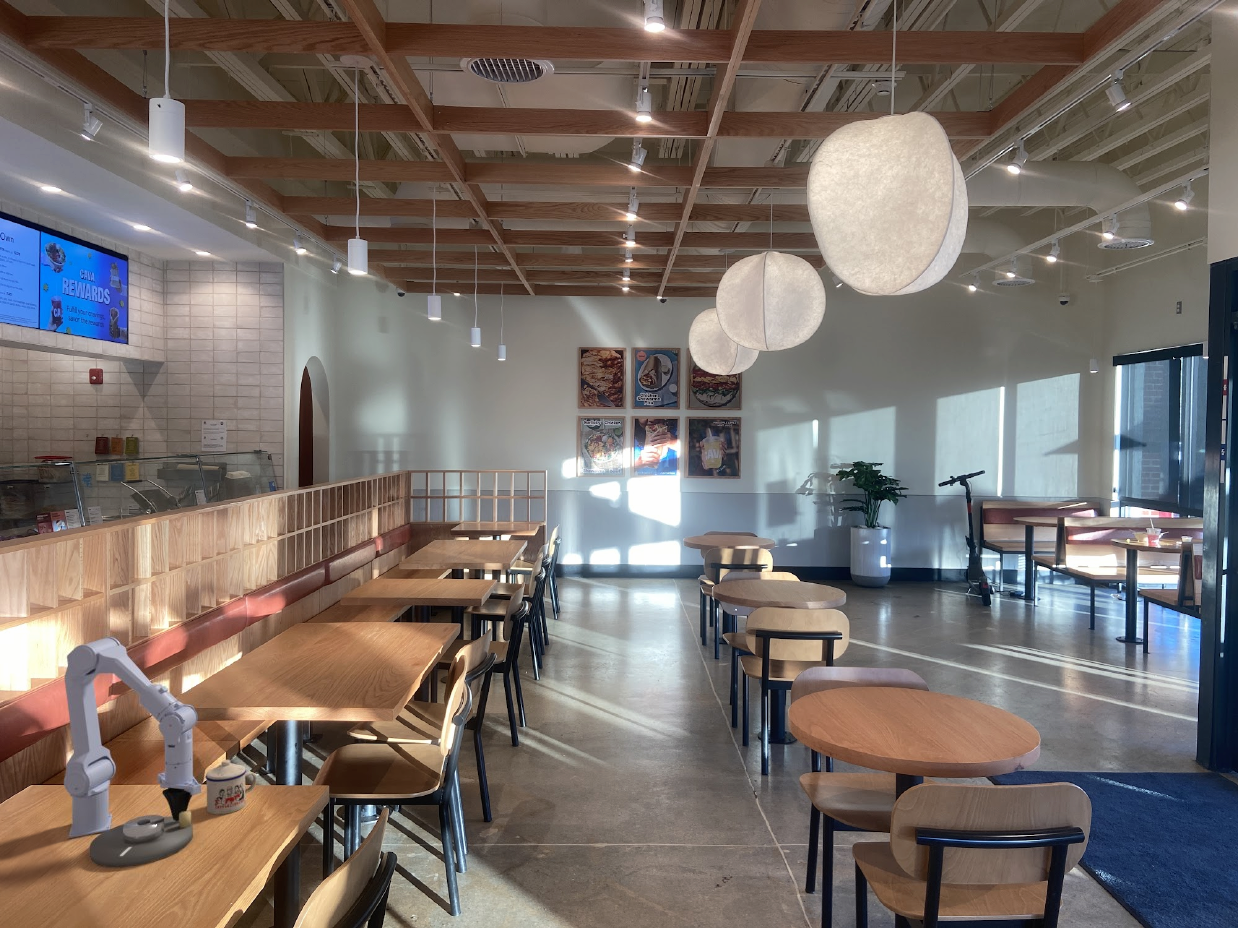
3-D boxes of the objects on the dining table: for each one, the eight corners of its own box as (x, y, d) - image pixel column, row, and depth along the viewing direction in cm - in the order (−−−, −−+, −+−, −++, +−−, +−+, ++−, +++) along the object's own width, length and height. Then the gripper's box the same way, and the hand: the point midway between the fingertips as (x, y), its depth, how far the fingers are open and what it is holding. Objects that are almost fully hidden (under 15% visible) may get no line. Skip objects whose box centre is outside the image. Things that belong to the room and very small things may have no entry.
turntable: (118, 826, 195) (118, 805, 195) (207, 823, 197) (207, 802, 197) (69, 868, 175) (69, 845, 175) (168, 864, 177) (168, 841, 177)
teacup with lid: (213, 818, 200) (213, 770, 200) (200, 807, 206) (200, 760, 206) (264, 804, 208) (263, 757, 208) (249, 793, 215) (249, 748, 215)
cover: (134, 828, 190) (134, 814, 190) (170, 827, 190) (170, 813, 190) (115, 844, 182) (115, 830, 182) (153, 843, 182) (153, 829, 182)
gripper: (144, 759, 193) (144, 817, 194) (179, 772, 186) (180, 832, 186) (174, 750, 199) (174, 806, 200) (209, 762, 192) (210, 820, 192)
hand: (179, 818), depth 193 cm, fingers closed
